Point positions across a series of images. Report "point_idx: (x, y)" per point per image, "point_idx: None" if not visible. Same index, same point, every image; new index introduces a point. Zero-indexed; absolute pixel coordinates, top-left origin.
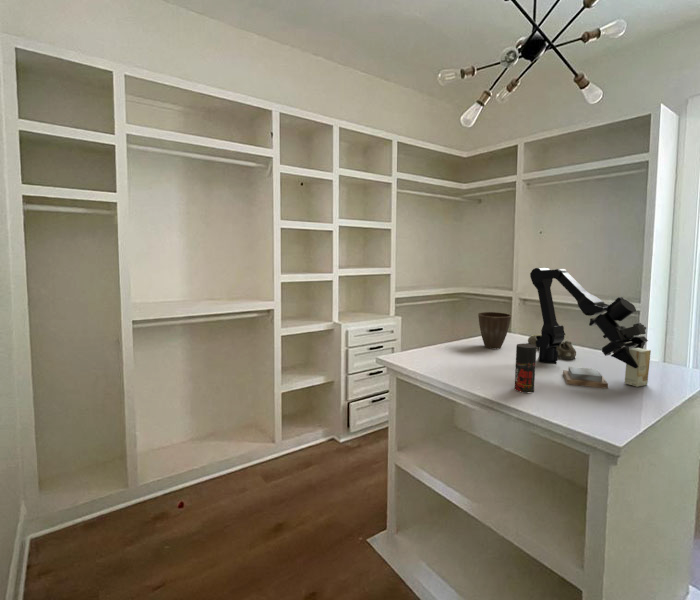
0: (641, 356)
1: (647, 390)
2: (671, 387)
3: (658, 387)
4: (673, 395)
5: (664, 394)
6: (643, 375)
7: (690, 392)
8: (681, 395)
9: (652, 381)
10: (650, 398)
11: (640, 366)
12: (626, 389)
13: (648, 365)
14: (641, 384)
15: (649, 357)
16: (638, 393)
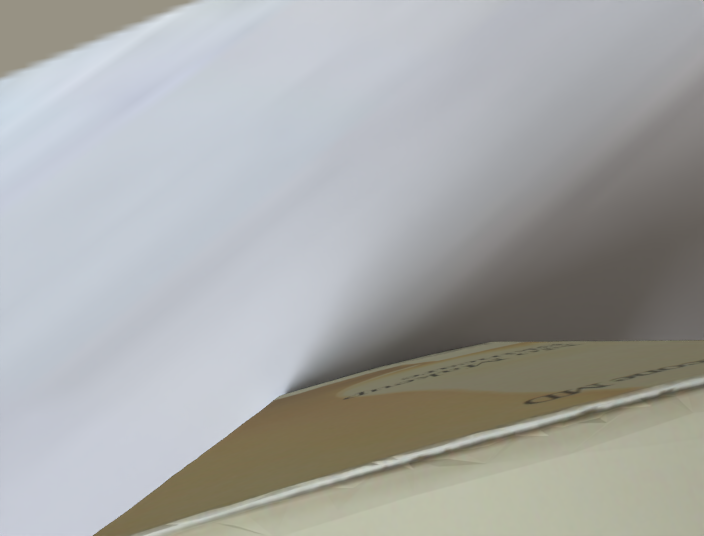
0: (697, 350)
1: (460, 231)
2: (69, 256)
3: (228, 290)
4: (324, 40)
5: (392, 85)
6: (404, 370)
7: (35, 72)
8: (238, 21)
9: (67, 508)
10: (653, 23)
11: (570, 344)
12: (677, 313)
13: (260, 425)
14: (420, 357)
15: (215, 460)
16: (651, 172)
